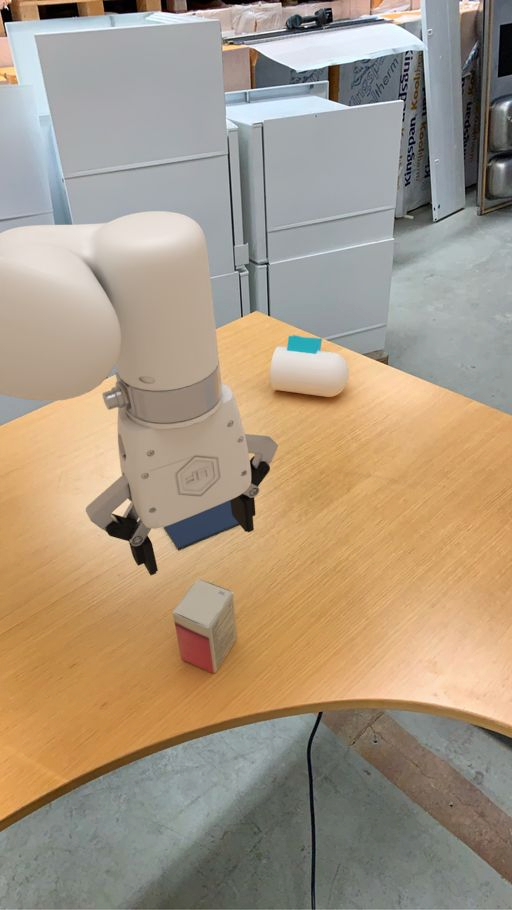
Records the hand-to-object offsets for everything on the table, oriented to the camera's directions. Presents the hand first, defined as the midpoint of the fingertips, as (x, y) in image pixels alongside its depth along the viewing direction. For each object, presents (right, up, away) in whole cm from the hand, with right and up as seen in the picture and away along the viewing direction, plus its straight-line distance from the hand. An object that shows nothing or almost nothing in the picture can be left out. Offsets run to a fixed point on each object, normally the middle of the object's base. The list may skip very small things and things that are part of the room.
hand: (196, 543), depth 60 cm
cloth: (-4, +2, +28) cm, 28 cm away
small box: (+1, -13, +9) cm, 16 cm away
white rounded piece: (+15, +20, +50) cm, 55 cm away
